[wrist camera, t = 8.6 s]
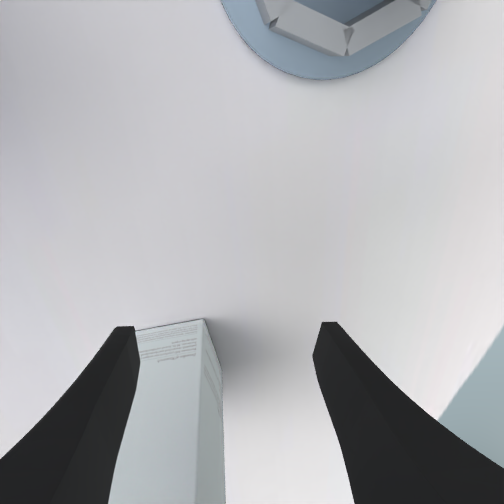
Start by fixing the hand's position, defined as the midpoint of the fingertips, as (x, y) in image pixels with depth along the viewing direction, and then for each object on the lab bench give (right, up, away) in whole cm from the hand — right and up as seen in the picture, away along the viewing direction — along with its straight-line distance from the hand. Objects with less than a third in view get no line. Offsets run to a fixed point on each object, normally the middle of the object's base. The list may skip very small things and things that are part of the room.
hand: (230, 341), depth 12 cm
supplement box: (-6, -5, +15) cm, 17 cm away
